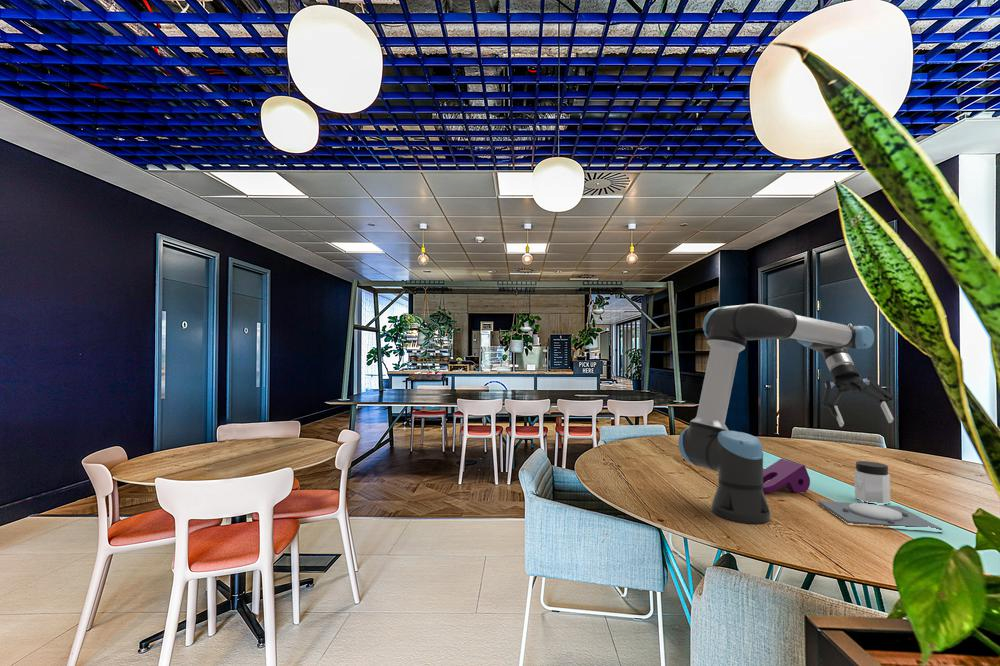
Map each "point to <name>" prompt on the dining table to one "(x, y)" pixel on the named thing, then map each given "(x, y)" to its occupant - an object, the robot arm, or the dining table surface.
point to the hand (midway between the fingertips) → (866, 423)
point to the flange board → (875, 514)
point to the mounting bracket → (786, 476)
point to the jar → (872, 482)
